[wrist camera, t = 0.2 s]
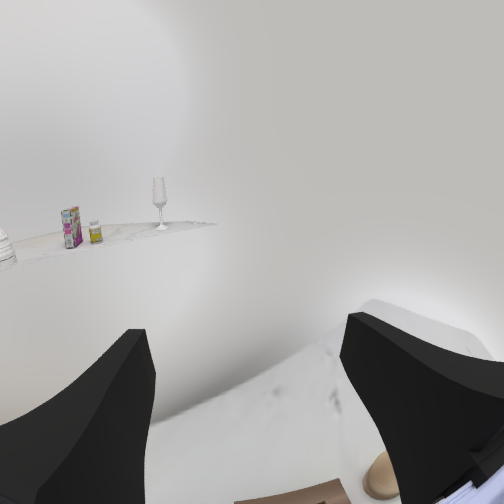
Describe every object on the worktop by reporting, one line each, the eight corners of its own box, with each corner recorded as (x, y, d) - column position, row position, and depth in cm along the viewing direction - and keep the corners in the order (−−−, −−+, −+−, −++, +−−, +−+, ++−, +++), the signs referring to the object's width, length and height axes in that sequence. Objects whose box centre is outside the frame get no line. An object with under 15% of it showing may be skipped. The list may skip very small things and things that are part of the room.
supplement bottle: (92, 241, 109) (89, 220, 106) (103, 240, 110) (100, 218, 108) (90, 244, 104) (86, 222, 101) (101, 243, 106) (98, 220, 103)
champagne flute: (155, 230, 124) (151, 178, 117) (154, 227, 130) (151, 178, 122) (169, 229, 126) (166, 177, 119) (168, 226, 132) (164, 177, 125)
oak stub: (412, 487, 16) (427, 472, 15) (373, 507, 15) (386, 495, 14) (393, 458, 20) (404, 441, 19) (355, 474, 20) (364, 459, 19)
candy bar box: (75, 248, 100) (70, 209, 95) (66, 249, 98) (60, 211, 94) (83, 241, 110) (78, 205, 105) (74, 242, 109) (69, 207, 104)
